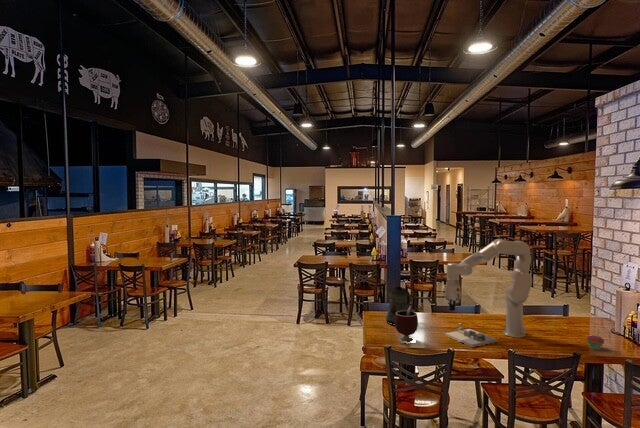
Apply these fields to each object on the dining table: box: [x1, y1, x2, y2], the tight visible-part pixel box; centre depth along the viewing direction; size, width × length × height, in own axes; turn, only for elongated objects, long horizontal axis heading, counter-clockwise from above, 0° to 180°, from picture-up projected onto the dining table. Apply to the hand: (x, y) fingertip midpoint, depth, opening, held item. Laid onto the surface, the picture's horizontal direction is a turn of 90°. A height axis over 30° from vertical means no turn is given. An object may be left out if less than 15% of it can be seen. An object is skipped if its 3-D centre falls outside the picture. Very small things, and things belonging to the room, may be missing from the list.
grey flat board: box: [445, 328, 498, 348], centre depth 249 cm, size 22×20×5 cm
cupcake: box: [586, 328, 605, 351], centre depth 231 cm, size 9×8×12 cm
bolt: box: [455, 322, 470, 334], centre depth 255 cm, size 10×2×6 cm, turn 24°
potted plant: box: [385, 286, 412, 324], centre depth 286 cm, size 16×19×25 cm
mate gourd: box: [394, 305, 419, 342], centre depth 249 cm, size 16×14×20 cm
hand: (452, 310), depth 263 cm, fingers closed
